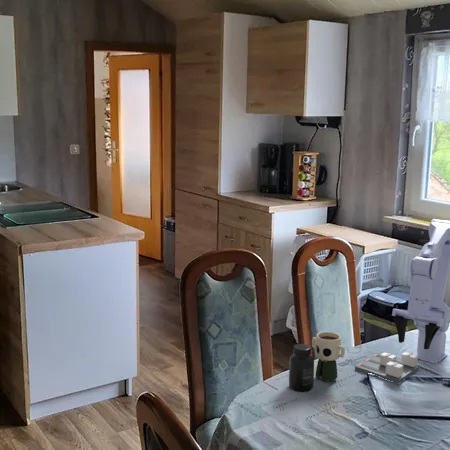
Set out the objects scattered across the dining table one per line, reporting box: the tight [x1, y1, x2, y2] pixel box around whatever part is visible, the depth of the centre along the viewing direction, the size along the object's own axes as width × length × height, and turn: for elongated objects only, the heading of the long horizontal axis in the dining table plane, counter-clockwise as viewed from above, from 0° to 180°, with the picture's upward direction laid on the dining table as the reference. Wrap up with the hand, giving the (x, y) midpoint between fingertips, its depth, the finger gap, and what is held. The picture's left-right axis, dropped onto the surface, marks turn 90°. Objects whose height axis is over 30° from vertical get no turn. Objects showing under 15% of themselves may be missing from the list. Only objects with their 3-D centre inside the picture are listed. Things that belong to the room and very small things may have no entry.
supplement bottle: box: [288, 343, 315, 393], centre depth 171 cm, size 7×7×12 cm
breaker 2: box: [400, 351, 419, 367], centre depth 185 cm, size 3×4×3 cm, turn 48°
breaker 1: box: [385, 361, 403, 378], centre depth 177 cm, size 3×4×3 cm, turn 48°
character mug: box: [311, 331, 346, 382], centre depth 177 cm, size 11×7×13 cm, turn 46°
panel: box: [354, 352, 421, 385], centre depth 184 cm, size 14×14×1 cm
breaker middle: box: [380, 351, 397, 366], centre depth 184 cm, size 3×4×3 cm, turn 48°
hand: (413, 345), depth 177 cm, fingers open, 7 cm apart
